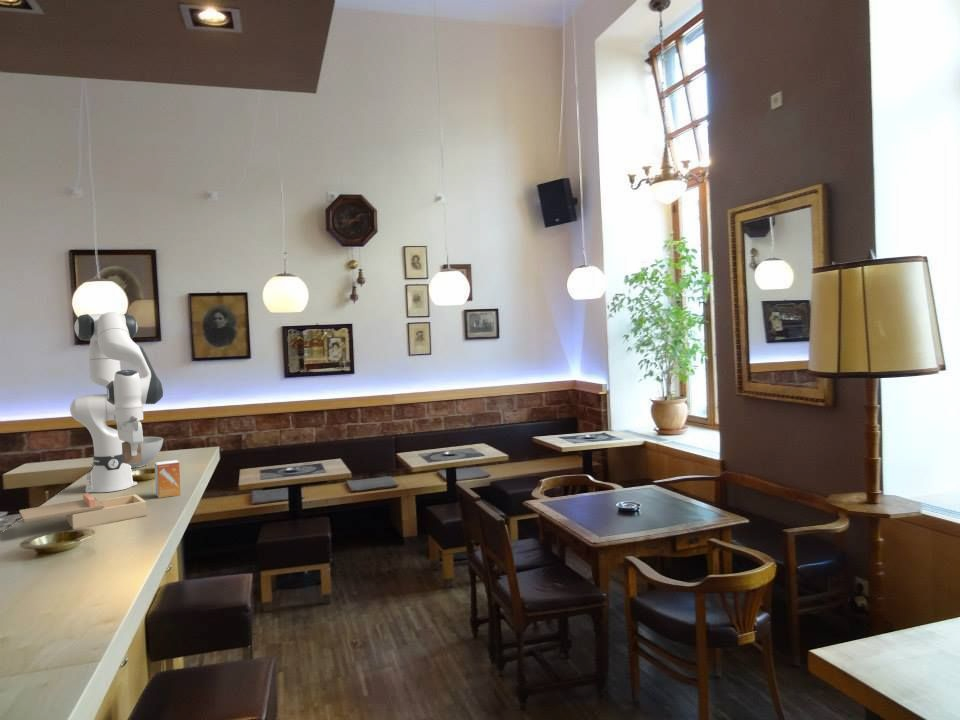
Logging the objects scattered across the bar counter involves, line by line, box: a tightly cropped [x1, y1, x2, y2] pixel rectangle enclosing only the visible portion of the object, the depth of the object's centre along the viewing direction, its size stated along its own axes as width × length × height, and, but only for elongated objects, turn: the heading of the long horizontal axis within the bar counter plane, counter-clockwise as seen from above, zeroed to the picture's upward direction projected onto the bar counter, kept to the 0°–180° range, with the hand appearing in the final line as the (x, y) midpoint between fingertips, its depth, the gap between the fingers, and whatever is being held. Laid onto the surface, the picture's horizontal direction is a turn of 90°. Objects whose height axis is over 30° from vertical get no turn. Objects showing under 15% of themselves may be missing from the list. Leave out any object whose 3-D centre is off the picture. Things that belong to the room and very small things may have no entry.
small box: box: [154, 459, 182, 499], centre depth 262 cm, size 8×6×13 cm
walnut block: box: [122, 442, 142, 464], centre depth 240 cm, size 5×5×7 cm
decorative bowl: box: [128, 436, 164, 469], centre depth 323 cm, size 27×27×12 cm
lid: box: [18, 492, 104, 523], centre depth 223 cm, size 15×22×3 cm
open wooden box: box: [65, 493, 148, 530], centre depth 232 cm, size 15×22×5 cm
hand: (131, 454), depth 240 cm, fingers closed on walnut block, 5 cm apart
